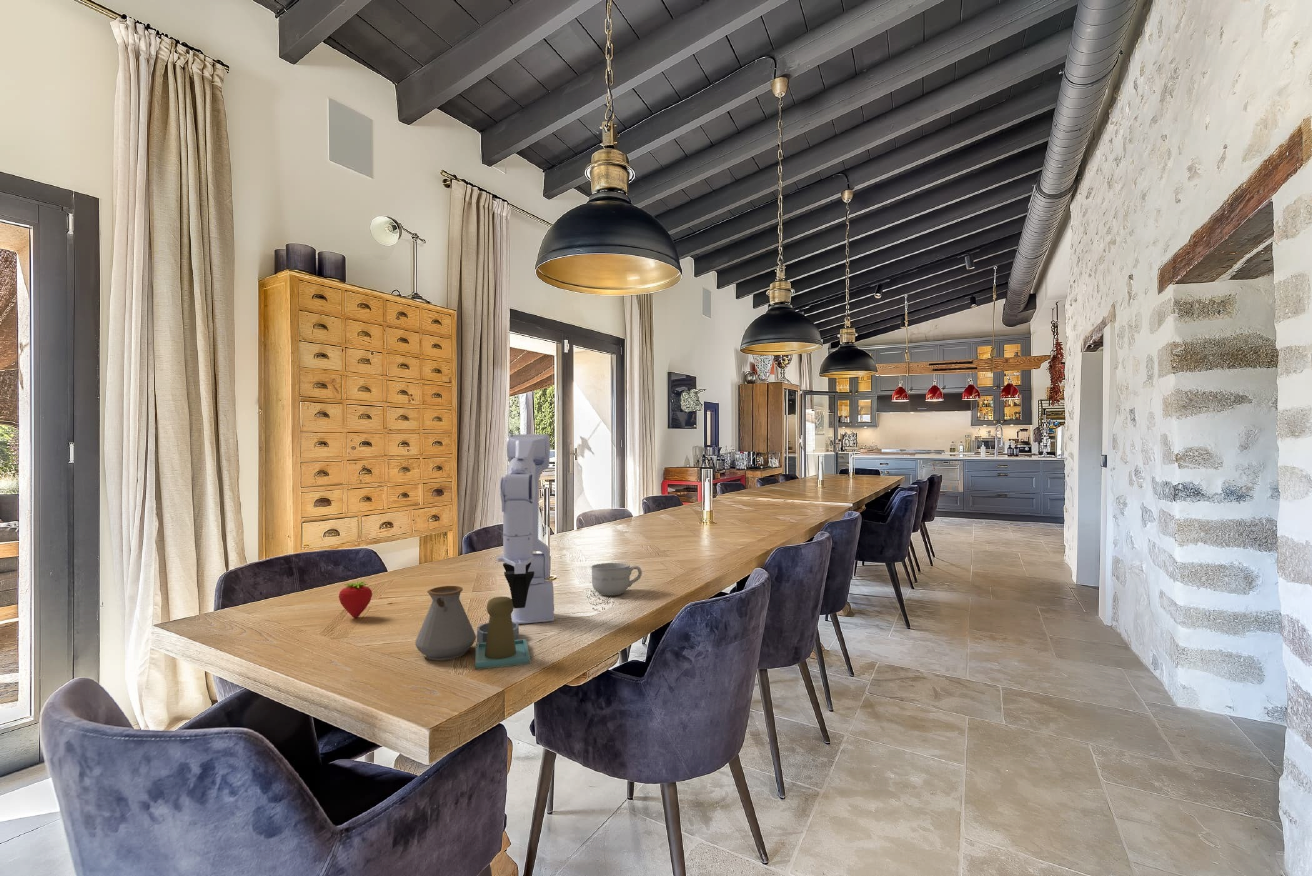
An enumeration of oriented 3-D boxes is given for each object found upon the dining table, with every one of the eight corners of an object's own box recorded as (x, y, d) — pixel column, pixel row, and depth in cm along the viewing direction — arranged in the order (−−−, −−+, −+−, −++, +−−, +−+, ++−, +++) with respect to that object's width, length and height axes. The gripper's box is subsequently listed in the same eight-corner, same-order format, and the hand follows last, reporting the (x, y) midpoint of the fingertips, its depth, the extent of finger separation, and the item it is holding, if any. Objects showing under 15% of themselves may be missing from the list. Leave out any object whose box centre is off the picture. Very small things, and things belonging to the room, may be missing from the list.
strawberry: (345, 614, 148) (345, 573, 148) (376, 613, 148) (376, 573, 148) (333, 621, 142) (333, 579, 142) (365, 621, 142) (365, 578, 142)
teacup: (586, 597, 163) (586, 568, 163) (597, 587, 174) (597, 560, 174) (637, 599, 161) (637, 569, 161) (644, 589, 171) (644, 561, 171)
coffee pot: (419, 646, 125) (419, 574, 125) (476, 641, 128) (476, 571, 128) (403, 687, 105) (403, 601, 104) (472, 680, 107) (472, 596, 107)
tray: (525, 644, 126) (525, 638, 126) (529, 663, 116) (529, 657, 115) (475, 649, 123) (475, 643, 123) (475, 669, 113) (475, 662, 113)
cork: (521, 649, 121) (521, 595, 121) (505, 660, 115) (505, 603, 115) (495, 646, 123) (495, 592, 123) (478, 657, 117) (478, 600, 117)
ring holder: (517, 630, 135) (517, 619, 135) (519, 643, 127) (519, 631, 127) (477, 634, 133) (477, 622, 133) (477, 647, 124) (476, 635, 124)
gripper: (496, 529, 126) (496, 594, 126) (498, 541, 112) (498, 614, 112) (530, 528, 128) (531, 592, 128) (536, 539, 114) (536, 611, 114)
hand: (518, 602), depth 120 cm, fingers open, 7 cm apart
